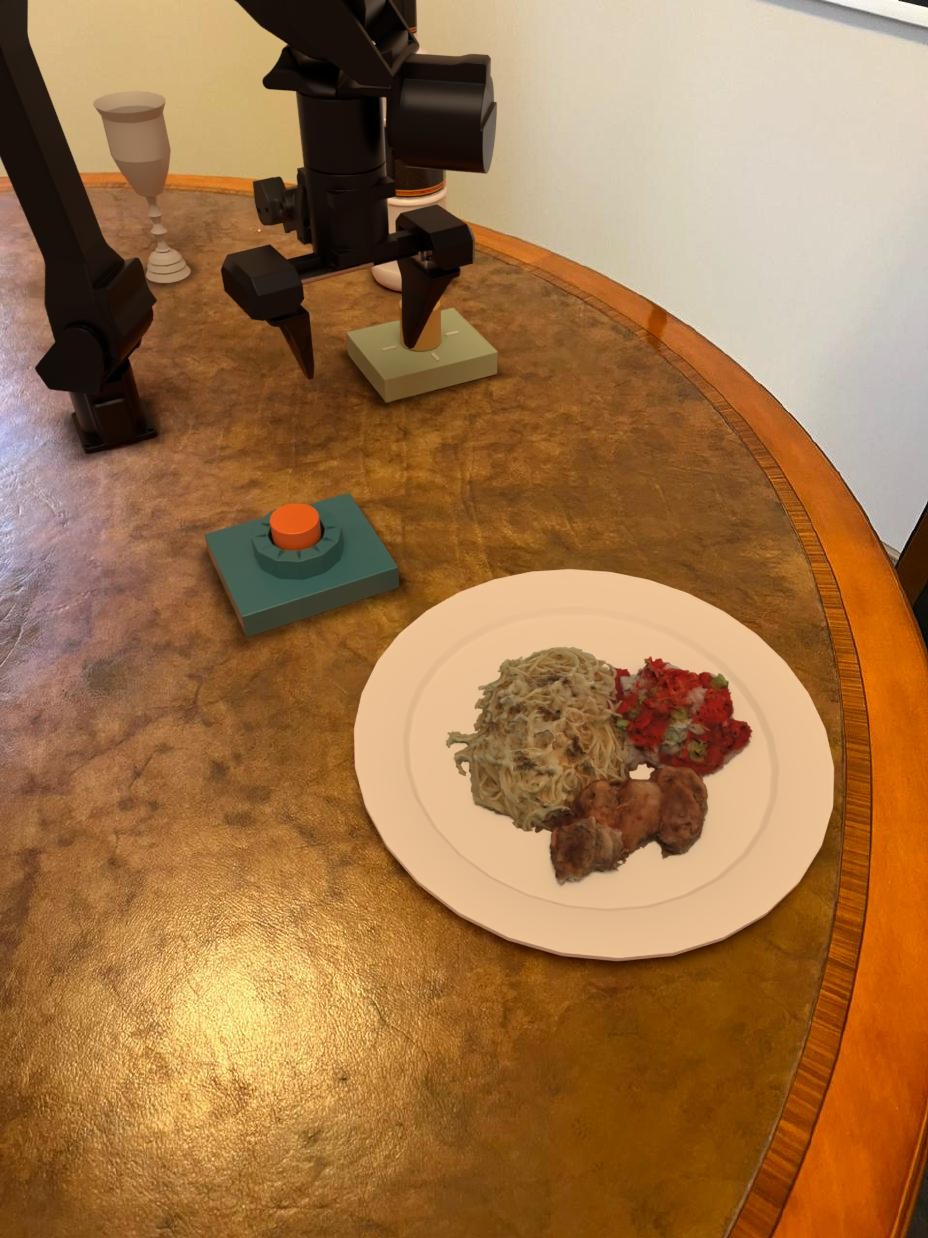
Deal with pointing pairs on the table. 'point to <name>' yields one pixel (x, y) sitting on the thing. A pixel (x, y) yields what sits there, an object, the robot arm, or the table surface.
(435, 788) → the plated food
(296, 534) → the button
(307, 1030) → the table surface
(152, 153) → the chalice
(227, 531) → the teal button base
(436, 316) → the lock dial
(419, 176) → the vodka
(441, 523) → the table surface
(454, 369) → the panel
